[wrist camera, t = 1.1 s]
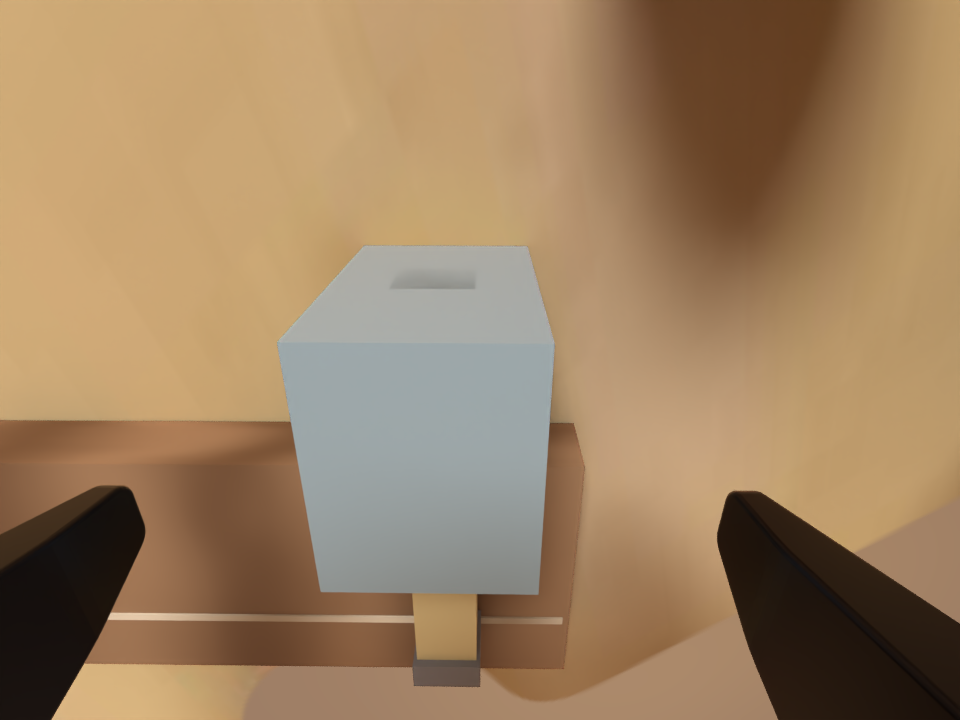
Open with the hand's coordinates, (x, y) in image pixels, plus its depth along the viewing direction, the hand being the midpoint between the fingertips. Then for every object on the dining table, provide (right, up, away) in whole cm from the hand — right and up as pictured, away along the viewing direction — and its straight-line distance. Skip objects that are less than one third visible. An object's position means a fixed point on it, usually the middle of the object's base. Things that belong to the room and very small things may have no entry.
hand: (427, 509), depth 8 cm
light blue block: (0, 0, +7) cm, 7 cm away
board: (-6, -3, +9) cm, 11 cm away
